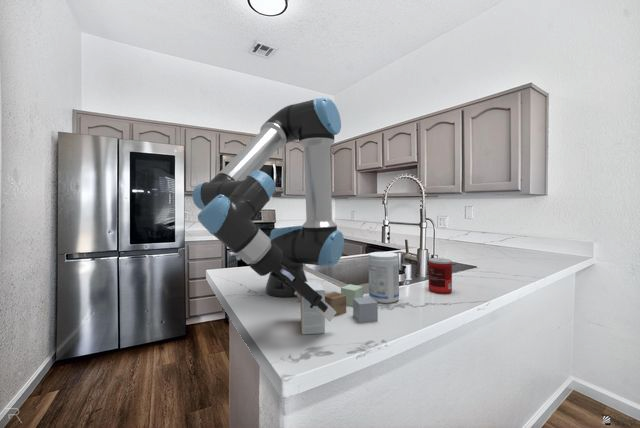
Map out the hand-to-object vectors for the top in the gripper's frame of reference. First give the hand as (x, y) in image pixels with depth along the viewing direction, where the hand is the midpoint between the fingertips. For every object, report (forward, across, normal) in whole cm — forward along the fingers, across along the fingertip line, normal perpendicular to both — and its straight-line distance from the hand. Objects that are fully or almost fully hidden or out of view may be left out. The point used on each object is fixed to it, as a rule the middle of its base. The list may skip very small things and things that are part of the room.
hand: (322, 309), depth 71 cm
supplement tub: (+22, -8, +16) cm, 28 cm away
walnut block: (+8, -6, +2) cm, 10 cm away
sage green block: (+14, -10, +8) cm, 19 cm away
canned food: (+38, -5, +32) cm, 50 cm away
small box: (+1, 0, -5) cm, 5 cm away
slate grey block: (+11, +2, +6) cm, 13 cm away
